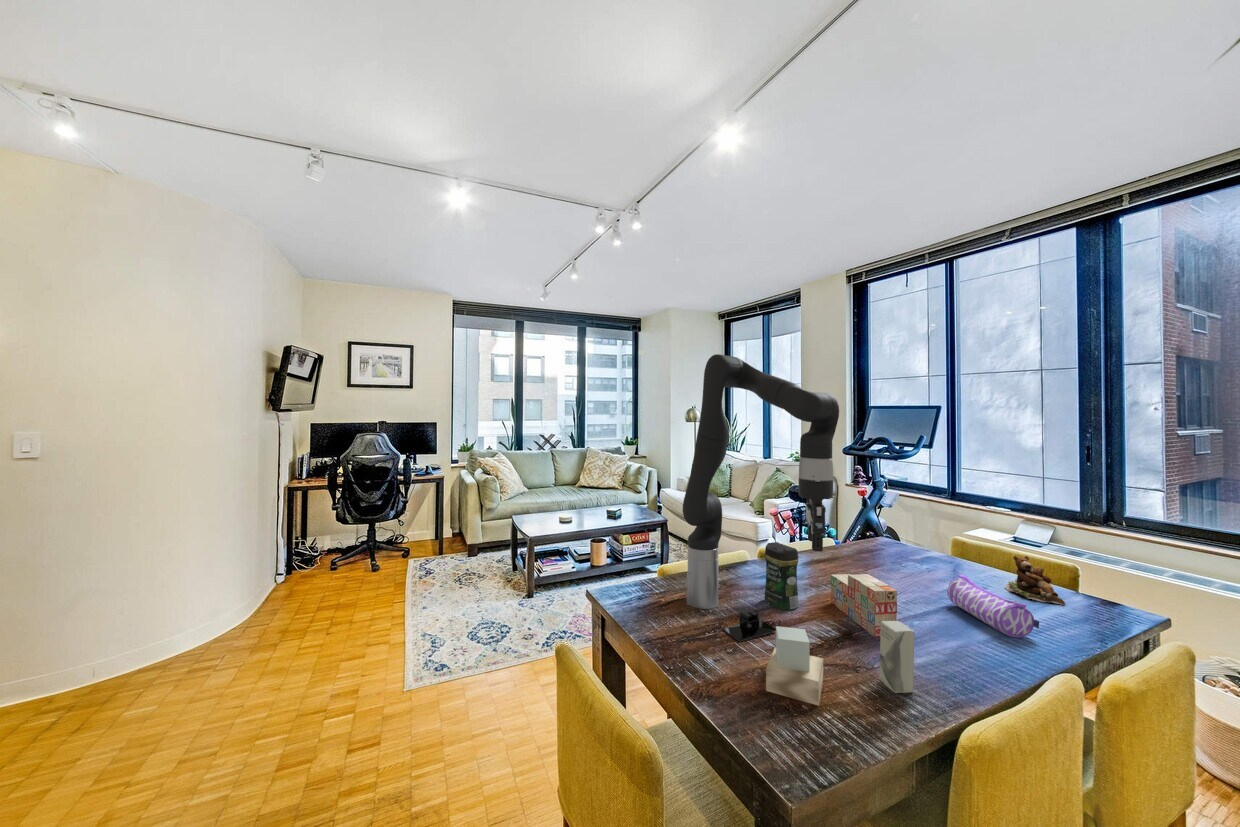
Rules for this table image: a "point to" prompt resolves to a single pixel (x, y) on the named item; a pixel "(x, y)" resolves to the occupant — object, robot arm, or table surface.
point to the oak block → (796, 680)
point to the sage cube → (792, 649)
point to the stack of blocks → (864, 600)
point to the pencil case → (992, 608)
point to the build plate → (749, 627)
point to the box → (897, 656)
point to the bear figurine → (1033, 583)
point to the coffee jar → (781, 576)
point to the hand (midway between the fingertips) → (815, 545)
